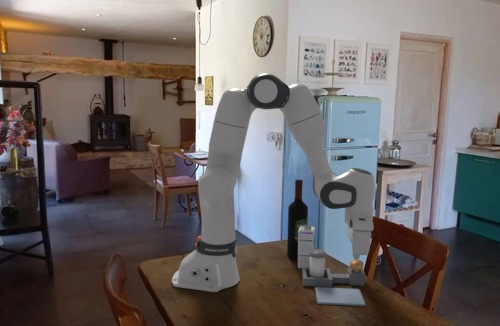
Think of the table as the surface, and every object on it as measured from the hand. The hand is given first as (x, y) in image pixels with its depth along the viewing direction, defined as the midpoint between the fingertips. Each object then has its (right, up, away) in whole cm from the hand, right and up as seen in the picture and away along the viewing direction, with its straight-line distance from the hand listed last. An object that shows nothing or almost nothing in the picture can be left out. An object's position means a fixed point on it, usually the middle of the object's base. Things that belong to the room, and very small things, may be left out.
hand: (355, 258), depth 139 cm
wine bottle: (-17, -5, +24) cm, 30 cm away
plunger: (0, -8, +1) cm, 8 cm away
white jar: (-13, -8, +2) cm, 15 cm away
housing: (-7, -8, +2) cm, 11 cm away
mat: (-8, -10, -10) cm, 16 cm away
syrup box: (-15, -6, +14) cm, 22 cm away
